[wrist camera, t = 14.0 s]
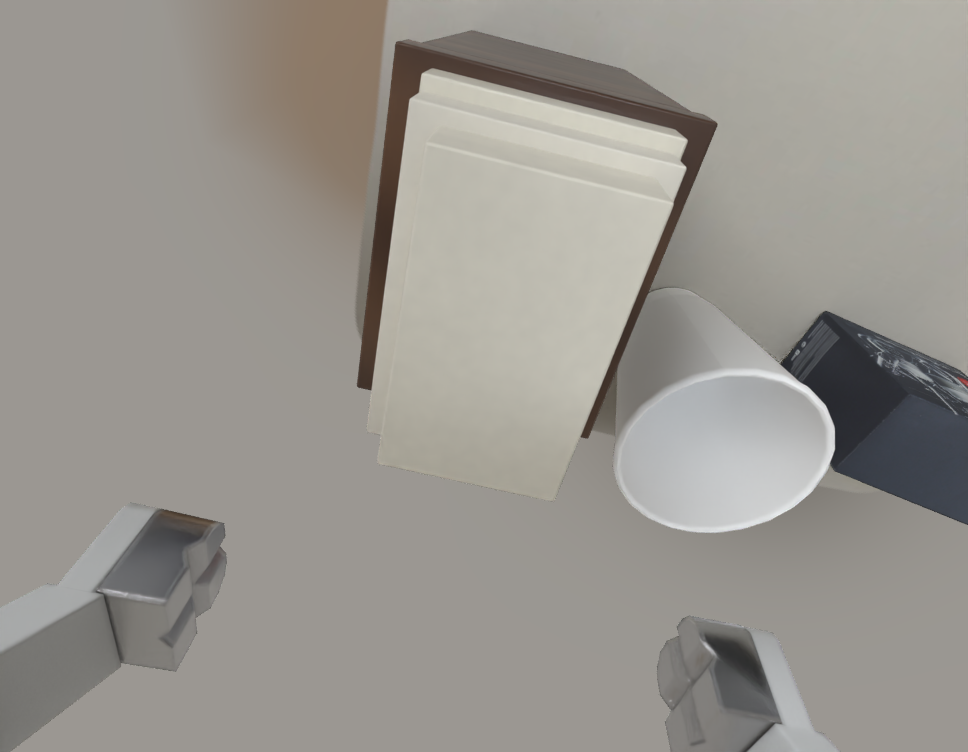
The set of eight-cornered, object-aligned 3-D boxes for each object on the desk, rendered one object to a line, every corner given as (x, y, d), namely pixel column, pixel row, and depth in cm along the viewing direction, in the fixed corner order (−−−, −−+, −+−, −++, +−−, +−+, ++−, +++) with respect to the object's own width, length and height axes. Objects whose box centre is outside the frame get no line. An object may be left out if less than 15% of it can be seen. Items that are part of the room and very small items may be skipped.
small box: (964, 367, 45) (1088, 470, 35) (899, 430, 48) (994, 539, 38) (824, 306, 43) (912, 395, 33) (767, 375, 47) (831, 475, 37)
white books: (430, 67, 19) (409, 77, 16) (677, 129, 19) (703, 151, 16) (384, 385, 26) (364, 434, 23) (565, 425, 26) (569, 479, 23)
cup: (596, 396, 49) (618, 540, 36) (584, 268, 43) (606, 384, 29) (740, 381, 47) (822, 528, 34) (749, 245, 41) (854, 357, 28)
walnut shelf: (463, 27, 35) (395, 40, 18) (633, 71, 36) (719, 123, 19) (427, 240, 43) (356, 388, 26) (568, 274, 43) (588, 439, 26)
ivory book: (439, 124, 16) (424, 141, 14) (657, 178, 17) (675, 202, 14) (392, 420, 22) (376, 464, 20) (552, 456, 22) (554, 503, 20)
